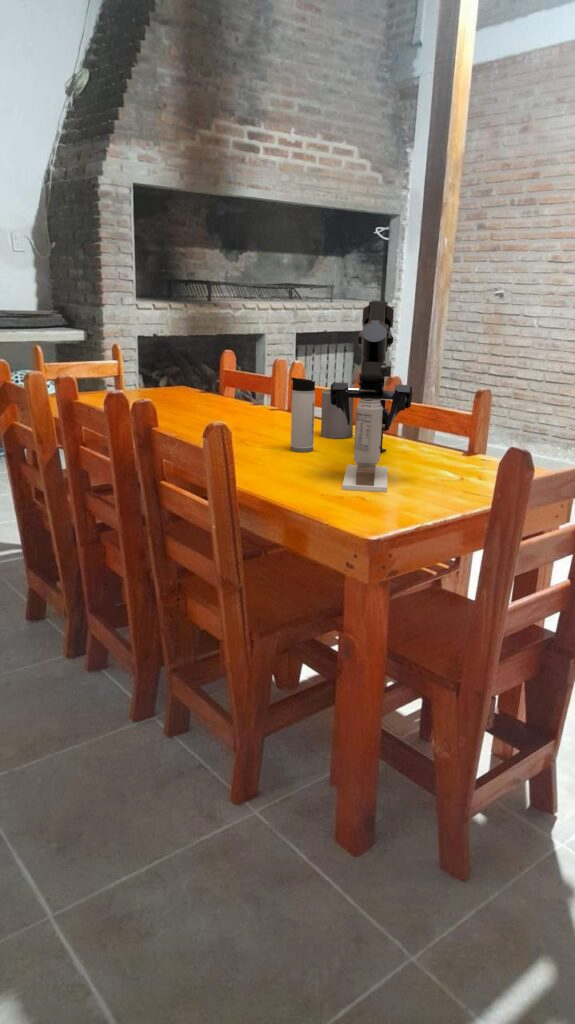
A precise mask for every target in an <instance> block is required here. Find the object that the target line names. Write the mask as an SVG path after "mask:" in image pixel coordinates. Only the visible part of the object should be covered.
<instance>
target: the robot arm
mask: <svg viewBox="0 0 575 1024" xmlns="http://www.w3.org/2000/svg"><path fill="white" fill-rule="evenodd" d="M394 314H395V310H394V308H393V307H391V306H389V303H388V301H386V300H370V301H368V304H367V306H365V307H363V309H362V321H361V323H362V324H361V325H362V329H361V331H359V334H358V346H359V347H361V353H362V354H361V361H360V363H361V364H360V373H359V378H358V387H359V388H350V387H349V382H336V381H335V382H332V384H330V388H329V389H330V393H331V404H332V405H336V407H337V408H341V410H342V412H343V414H344V416H345V418H346V421H347V424H348V425H350V411H349V398H354V399H378V400H381V402H380V403H381V405H382V407H383V414H382V431H381V447H380V453H383V452H387V449H386V448H383V438H384V436H383V435H384V432H387V431H389V430H390V427H391V426H392V424H393V422H394V421H395V419H396V417H397V416H398V414H399V413H400V412H401V411H402V412H404V411H405V410H406V409H409V408H411V405H412V397H413V387H412V386H411V385H410V384H395V386H394V390H384V388H385V378H390V377H391V375H392V373H391V372H392V361H390V360H388V361H387V360H386V359H387V356H386V355H387V354H386V353H387V351H388V348H390V347H391V346H392V345H393V343H394V336H393V335H392V332H391V329H393V327H394V316H395V315H394ZM386 401H392V402H391V407H390V411H389V409H388V408H386V404H387V403H386Z"/></svg>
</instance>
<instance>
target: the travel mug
mask: <svg viewBox="0 0 575 1024" xmlns="http://www.w3.org/2000/svg"><path fill="white" fill-rule="evenodd" d="M290 378H291V379H290V381H291V382H292V387H291V419H290V420H291V422H290V423H291V425H290V426H291V427H290V429H291V430H290V450H291V451H292V452H295V453H296V452H297V453H309V452H313V451H314V441H315V440H314V435H315V434H314V433H315V430H314V429H315V405H316V404H315V403H316V393H315V392H316V381H315V380H311V379H306V378H299V377H298V378H297V377H290Z"/></svg>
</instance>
